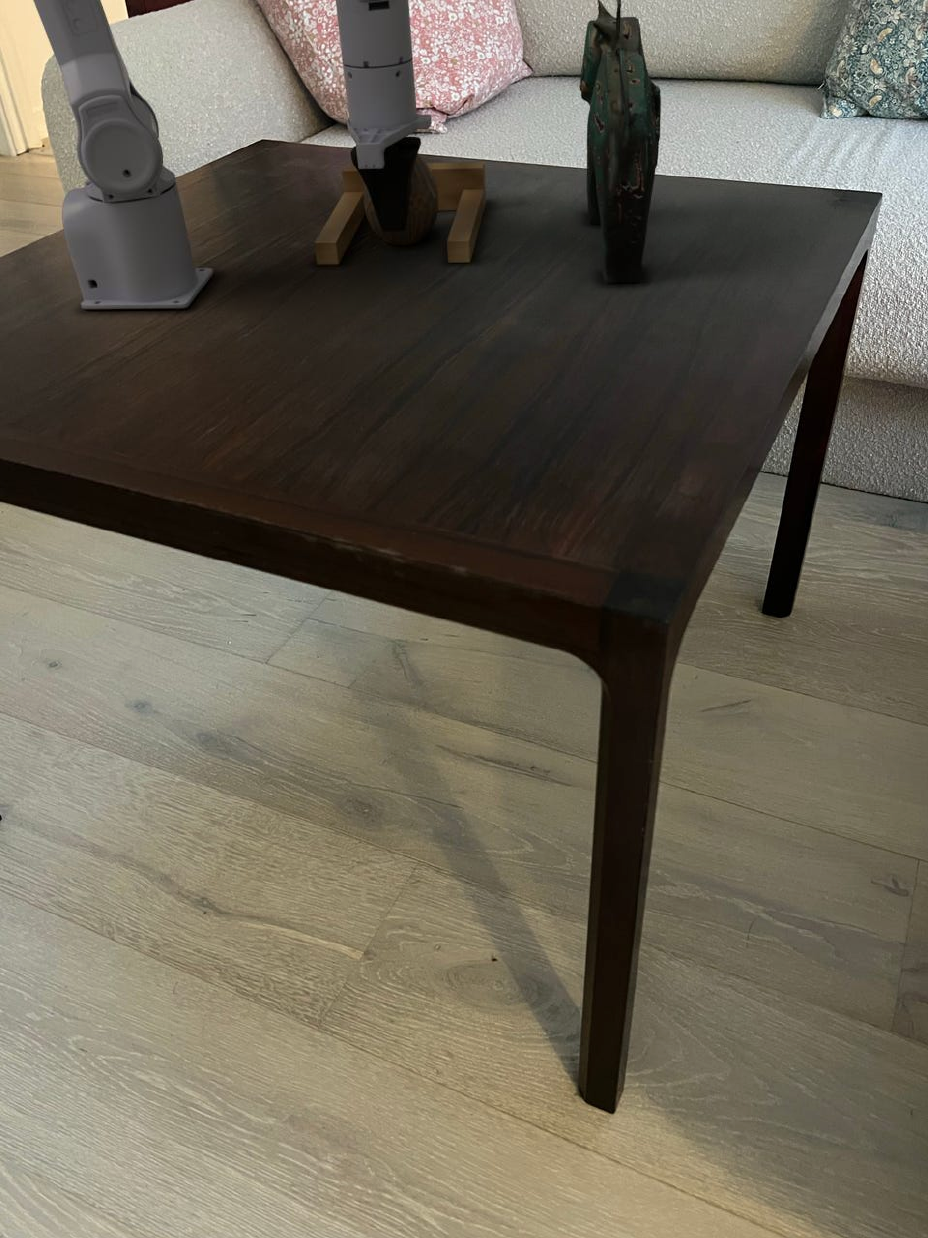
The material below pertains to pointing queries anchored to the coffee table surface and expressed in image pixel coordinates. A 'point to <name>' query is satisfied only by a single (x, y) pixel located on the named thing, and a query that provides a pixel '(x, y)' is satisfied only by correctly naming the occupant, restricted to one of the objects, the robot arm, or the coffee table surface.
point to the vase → (411, 208)
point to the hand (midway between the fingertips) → (394, 229)
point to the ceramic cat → (619, 140)
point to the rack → (455, 192)
